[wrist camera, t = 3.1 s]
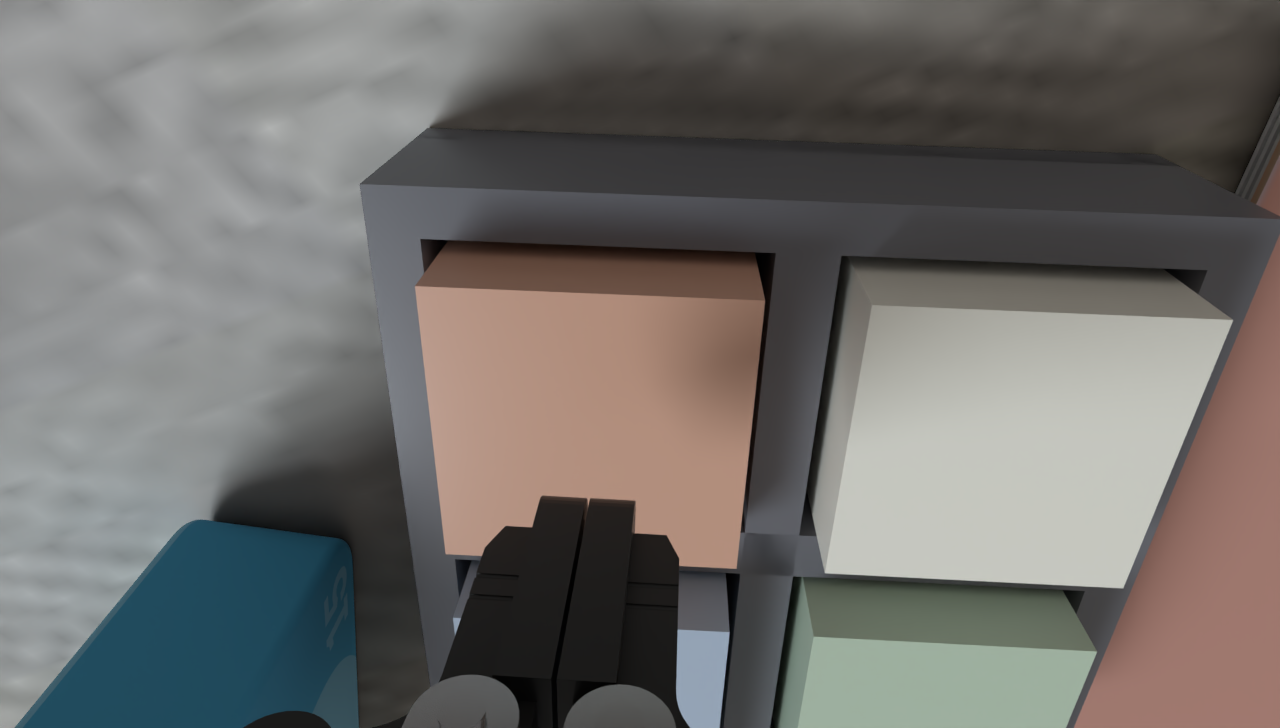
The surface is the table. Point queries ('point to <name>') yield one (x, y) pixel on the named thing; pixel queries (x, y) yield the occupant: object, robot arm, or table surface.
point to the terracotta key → (592, 386)
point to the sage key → (928, 656)
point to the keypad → (782, 300)
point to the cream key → (1003, 417)
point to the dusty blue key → (685, 643)
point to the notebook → (1213, 543)
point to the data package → (218, 637)
